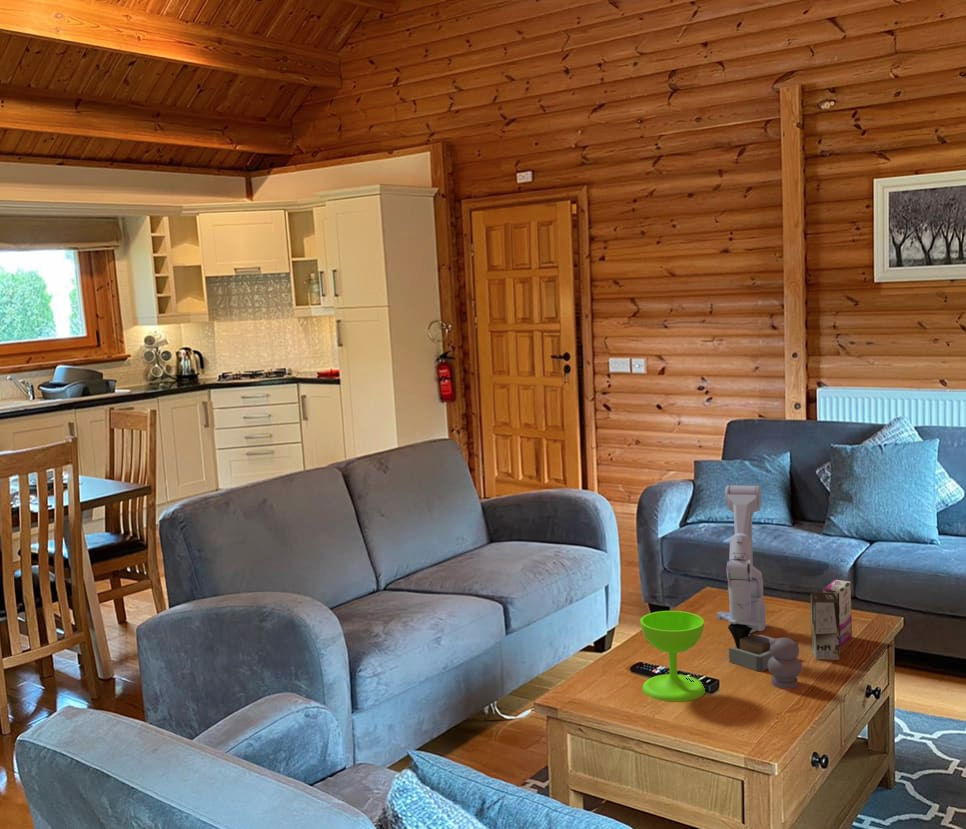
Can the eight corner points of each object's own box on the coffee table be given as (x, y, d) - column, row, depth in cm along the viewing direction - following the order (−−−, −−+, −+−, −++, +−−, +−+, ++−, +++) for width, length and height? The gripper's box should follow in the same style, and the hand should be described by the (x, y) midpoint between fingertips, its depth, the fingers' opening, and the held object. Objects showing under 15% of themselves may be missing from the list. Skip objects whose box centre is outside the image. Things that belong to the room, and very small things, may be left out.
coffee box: (840, 660, 261) (839, 602, 259) (815, 659, 262) (814, 602, 260) (835, 648, 270) (834, 592, 268) (810, 647, 271) (810, 591, 269)
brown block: (752, 652, 269) (751, 634, 269) (773, 659, 264) (773, 640, 263) (740, 658, 266) (739, 639, 265) (761, 664, 260) (761, 645, 260)
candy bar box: (834, 633, 281) (834, 578, 279) (852, 636, 278) (852, 581, 276) (822, 645, 272) (821, 589, 270) (840, 648, 269) (839, 591, 267)
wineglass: (630, 683, 252) (628, 616, 250) (683, 672, 258) (681, 607, 256) (663, 706, 237) (660, 635, 235) (718, 694, 243) (716, 624, 241)
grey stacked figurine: (805, 680, 248) (805, 635, 247) (798, 692, 242) (798, 645, 240) (772, 675, 253) (771, 631, 251) (764, 686, 246) (763, 641, 245)
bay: (760, 648, 272) (760, 634, 272) (791, 657, 265) (791, 643, 264) (729, 662, 263) (728, 647, 263) (760, 671, 256) (760, 657, 255)
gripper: (709, 600, 270) (710, 646, 272) (753, 611, 259) (754, 660, 261) (725, 594, 275) (726, 640, 276) (769, 605, 264) (769, 653, 265)
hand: (740, 649), depth 269 cm, fingers closed
